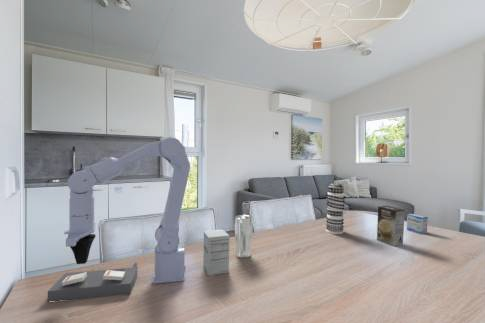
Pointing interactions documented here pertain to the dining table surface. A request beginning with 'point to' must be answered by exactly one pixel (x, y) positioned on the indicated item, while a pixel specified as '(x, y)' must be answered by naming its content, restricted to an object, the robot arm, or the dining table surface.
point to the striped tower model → (335, 208)
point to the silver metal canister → (243, 235)
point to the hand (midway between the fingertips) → (81, 262)
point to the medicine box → (417, 223)
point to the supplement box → (216, 252)
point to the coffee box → (390, 225)
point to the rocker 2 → (114, 275)
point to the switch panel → (94, 285)
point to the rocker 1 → (74, 278)
